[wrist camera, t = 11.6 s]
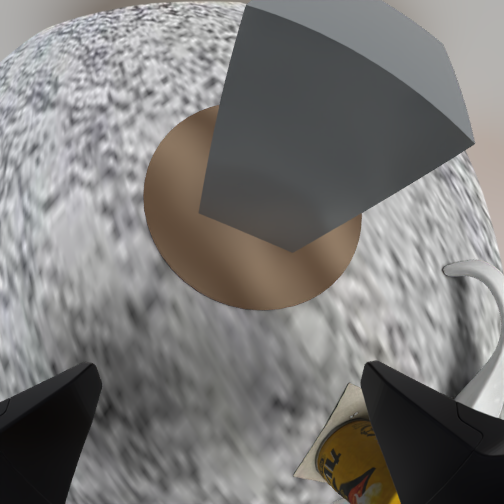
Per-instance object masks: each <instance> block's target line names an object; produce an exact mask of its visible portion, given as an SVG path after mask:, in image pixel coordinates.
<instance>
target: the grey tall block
mask: <svg viewBox="0 0 504 504" xmlns="http://www.w3.org/2000/svg"><path fill="white" fill-rule="evenodd" d="M474 144H475V141H474V137H473V132H472V128H471V124H470V120H469V116H468V113H467V109H466V105H465V102H464V99H463V95H462V92H461V89H460V86H459V83H458V80H457V78H456V75H455V72H454V69H453V67H452V64H451V62H450V60H449V57H448V55H447V52H446V50H445V48H444V45H443V44H442V43H441V42H440V41H439V40H437V39H436V38H435V37H434V36H432V35H431V34H430V33H429V32H427V31H426V30H425V29H423V28H422V27H421V26H419V25H418V24H417V23H415V22H414V21H413V20H411V19H410V18H408V17H407V16H405V15H404V14H402V13H401V12H399V11H398V10H396V9H395V8H393V7H391V6H390V5H388V4H387V3H385V2H384V1H382V0H252V1H250V2H249V3H248V4H247V5H246V7H245V10H244V13H243V17H242V20H241V24H240V27H239V30H238V34H237V38H236V41H235V45H234V49H233V52H232V56H231V60H230V64H229V68H228V72H227V76H226V80H225V84H224V88H223V92H222V96H221V101H220V105H219V109H218V114H217V118H216V123H215V128H214V132H213V137H212V142H211V147H210V152H209V157H208V162H207V168H206V173H205V179H204V184H203V190H202V196H201V202H200V208H199V214H202V215H204V216H206V217H209V218H211V219H214V220H216V221H219V222H221V223H223V224H226V225H228V226H230V227H233V228H235V229H238V230H240V231H242V232H245V233H247V234H250V235H252V236H254V237H257V238H259V239H261V240H264V241H266V242H268V243H271V244H273V245H275V246H278V247H280V248H282V249H285V250H287V251H289V252H292V253H293V252H295V251H297V250H299V249H300V248H302V247H304V246H306V245H307V244H309V243H311V242H313V241H314V240H316V239H318V238H320V237H321V236H323V235H325V234H327V233H328V232H330V231H332V230H333V229H335V228H337V227H339V226H340V225H342V224H344V223H346V222H347V221H349V220H351V219H352V218H354V217H356V216H357V215H359V214H361V213H363V212H364V211H366V210H368V209H369V208H371V207H373V206H374V205H376V204H378V203H380V202H381V201H383V200H385V199H386V198H388V197H390V196H391V195H393V194H395V193H396V192H398V191H400V190H401V189H403V188H405V187H406V186H408V185H410V184H411V183H413V182H415V181H416V180H418V179H419V178H421V177H423V176H424V175H426V174H428V173H429V172H431V171H433V170H434V169H436V168H437V167H439V166H441V165H442V164H444V163H446V162H447V161H449V160H450V159H452V158H454V157H455V156H457V155H458V154H460V153H462V152H463V151H465V150H466V149H468V148H469V147H471V146H472V145H474Z"/></svg>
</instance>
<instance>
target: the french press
mask: <svg viewBox="0 0 504 504" xmlns="http://www.w3.org/2000/svg"><path fill="white" fill-rule="evenodd" d="M332 504H350V503H349V502H348V501H347V500H346V499H344V498H343V499H340V500H338V501H335V502H333V503H332Z"/></svg>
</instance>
